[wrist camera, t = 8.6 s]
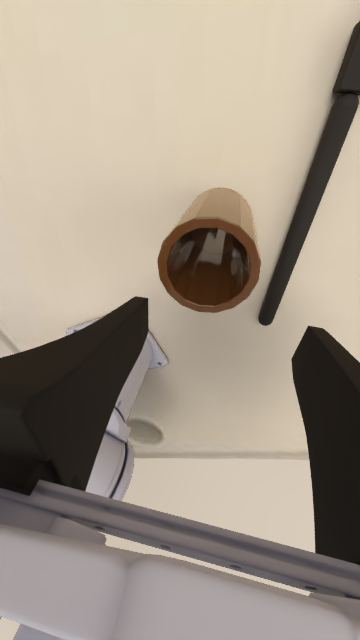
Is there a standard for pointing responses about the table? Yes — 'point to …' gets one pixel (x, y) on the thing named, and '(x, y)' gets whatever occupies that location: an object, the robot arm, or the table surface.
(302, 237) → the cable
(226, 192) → the pen cup
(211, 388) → the table surface
